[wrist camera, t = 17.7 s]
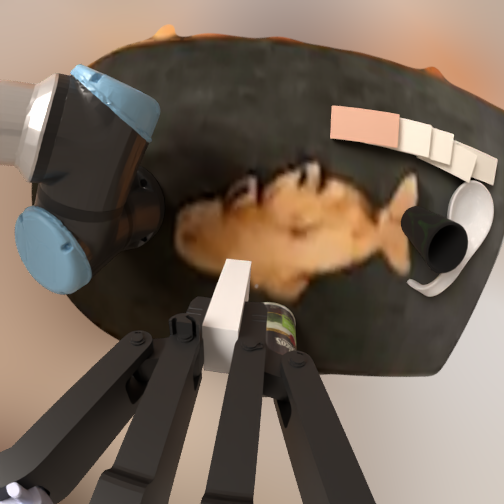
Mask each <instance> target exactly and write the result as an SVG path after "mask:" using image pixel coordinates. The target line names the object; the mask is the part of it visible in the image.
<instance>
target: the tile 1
mask: <svg viewBox="0 0 504 504" xmlns="http://www.w3.org/2000/svg"><path fill="white" fill-rule="evenodd" d="M431 130H432V126H431V125H428V124H424V123H420V122H416V121H412V120H408V119H403V118H399V133H398V146H397V148H394V147H389V146H383V145H377V144H371V143H366V144H371V145H376V146H381V147H385V148H390V149H395V150H399V151H403V152H408V153H412V154H416V155H420V156H423V157H428V156H429V148H430V140H431Z"/></svg>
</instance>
